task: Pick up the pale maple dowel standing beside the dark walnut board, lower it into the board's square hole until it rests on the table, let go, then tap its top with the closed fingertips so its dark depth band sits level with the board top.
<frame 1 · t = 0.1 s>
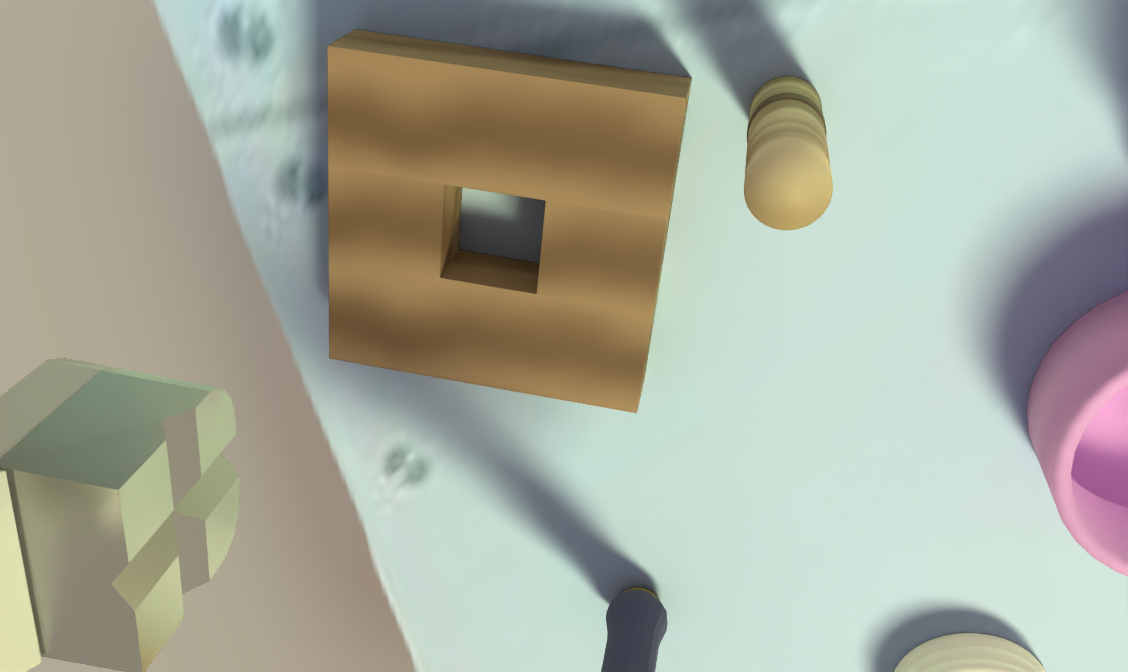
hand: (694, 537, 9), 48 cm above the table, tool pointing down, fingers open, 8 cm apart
walnut board: (507, 213, 60), on the table
rubber mallet: (640, 599, 71), on the table
maple dowel: (785, 111, 55), on the table
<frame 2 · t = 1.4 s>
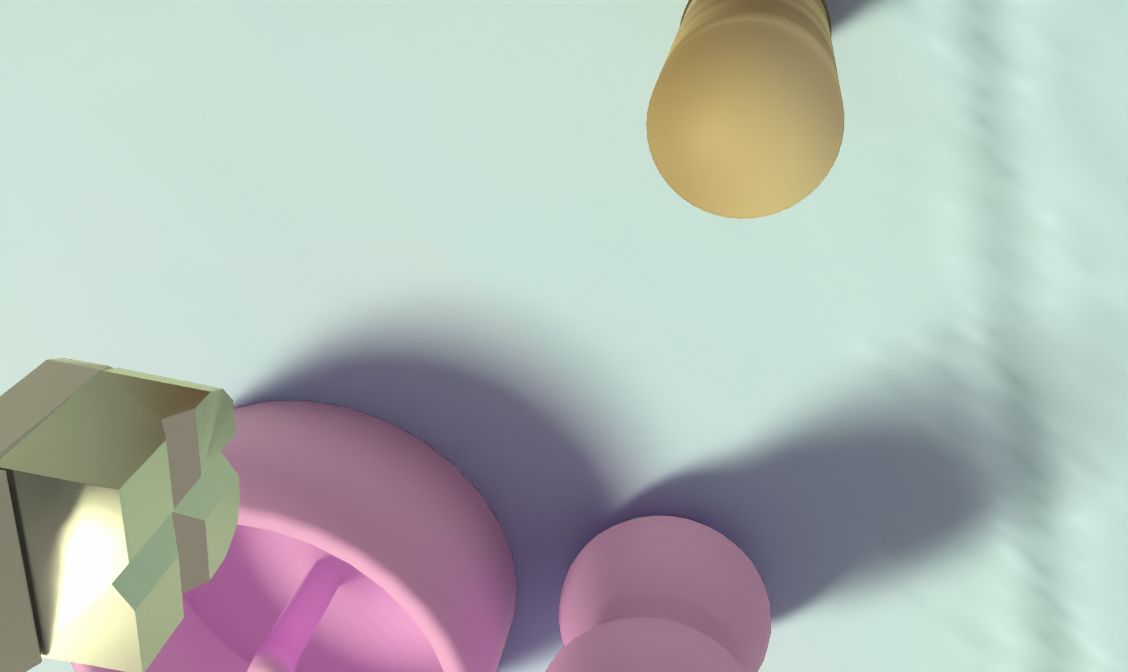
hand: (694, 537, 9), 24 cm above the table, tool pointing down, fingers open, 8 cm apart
container set: (448, 561, 42), on the table
maple dowel: (757, 5, 30), on the table
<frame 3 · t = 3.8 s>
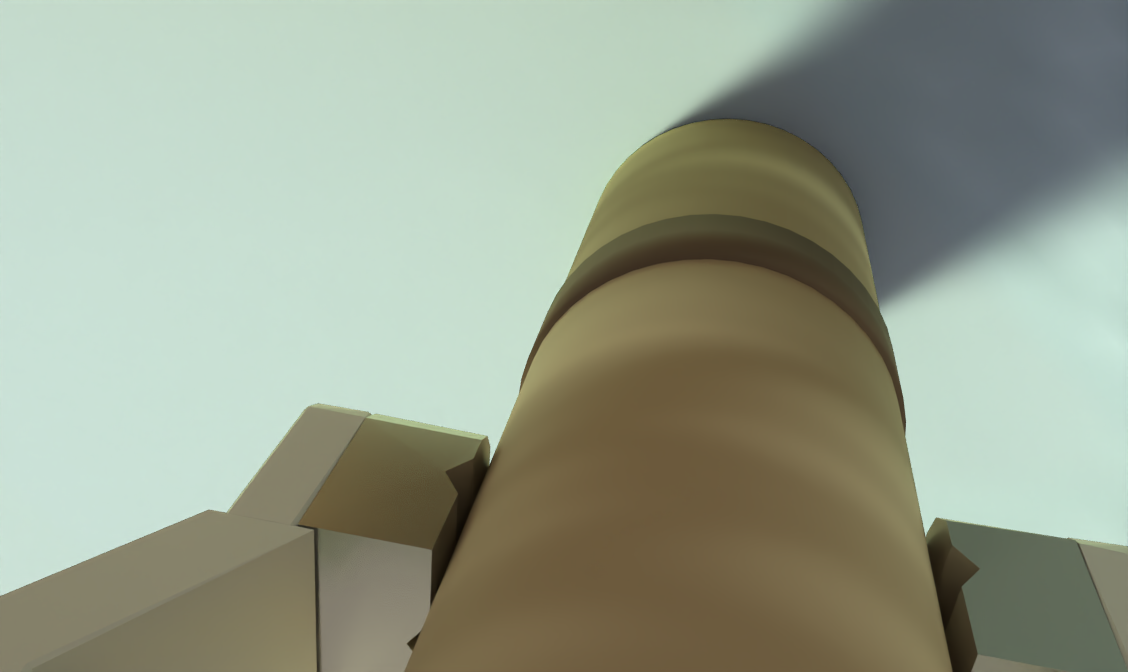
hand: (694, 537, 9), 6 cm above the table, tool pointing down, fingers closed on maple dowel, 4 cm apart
maple dowel: (724, 251, 14), on the table, touching gripper
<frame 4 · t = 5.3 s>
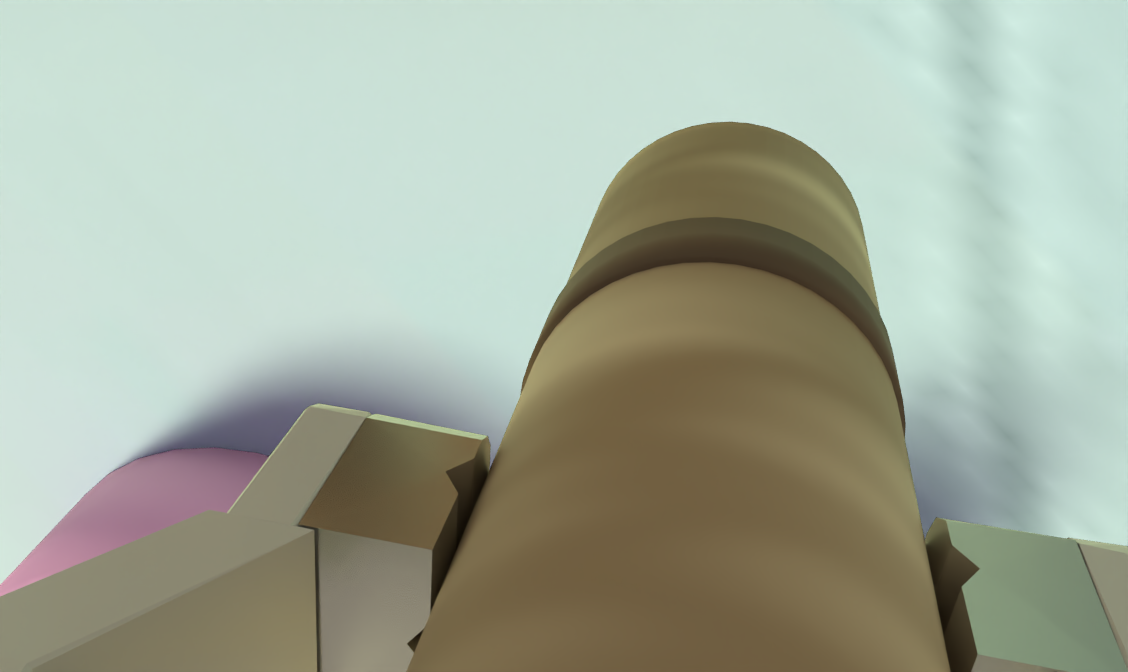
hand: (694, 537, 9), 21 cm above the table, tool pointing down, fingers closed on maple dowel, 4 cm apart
container set: (383, 614, 39), on the table
maple dowel: (724, 253, 14), point 15 cm above the table, touching gripper
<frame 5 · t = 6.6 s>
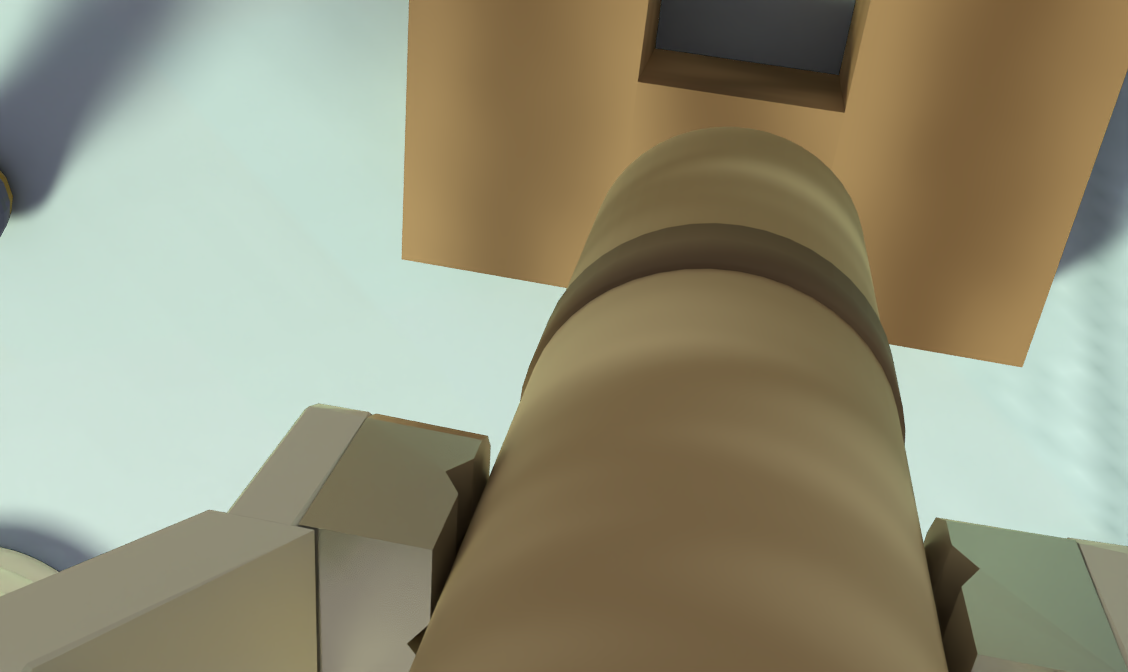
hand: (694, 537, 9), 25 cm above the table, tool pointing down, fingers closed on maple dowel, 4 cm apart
coaster: (25, 622, 49), on the table
maple dowel: (724, 258, 14), point 19 cm above the table, touching gripper
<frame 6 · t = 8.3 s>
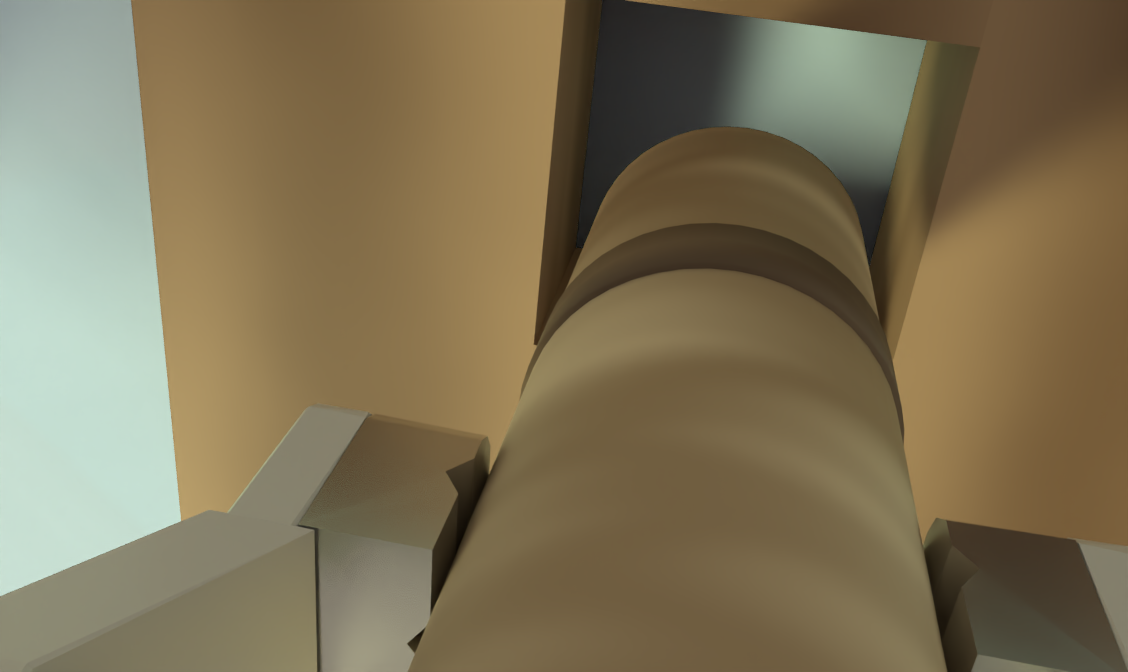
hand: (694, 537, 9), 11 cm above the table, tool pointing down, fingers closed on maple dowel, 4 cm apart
walnut board: (742, 130, 19), on the table
maple dowel: (724, 258, 14), point 5 cm above the table, touching gripper
when the fingers open (7 cm above the table, at t = 9.6 s): maple dowel stays where it is, resting in walnut board.
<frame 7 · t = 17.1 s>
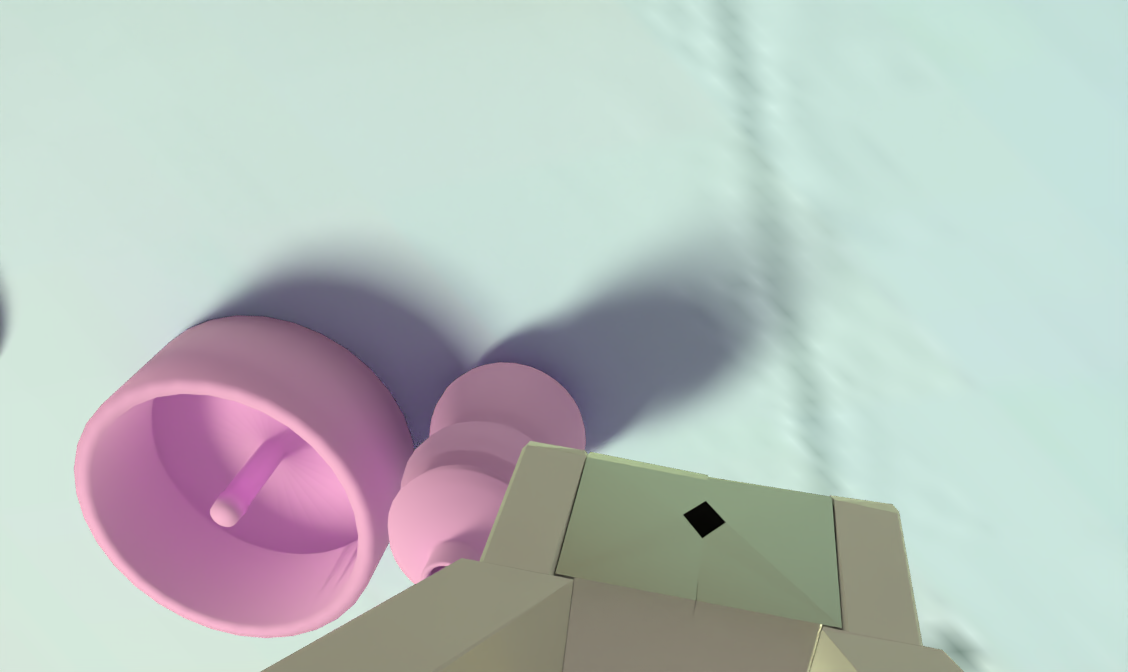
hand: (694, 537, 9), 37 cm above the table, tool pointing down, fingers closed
container set: (361, 429, 56), on the table
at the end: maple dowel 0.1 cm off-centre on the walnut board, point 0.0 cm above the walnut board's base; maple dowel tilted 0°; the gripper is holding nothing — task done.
